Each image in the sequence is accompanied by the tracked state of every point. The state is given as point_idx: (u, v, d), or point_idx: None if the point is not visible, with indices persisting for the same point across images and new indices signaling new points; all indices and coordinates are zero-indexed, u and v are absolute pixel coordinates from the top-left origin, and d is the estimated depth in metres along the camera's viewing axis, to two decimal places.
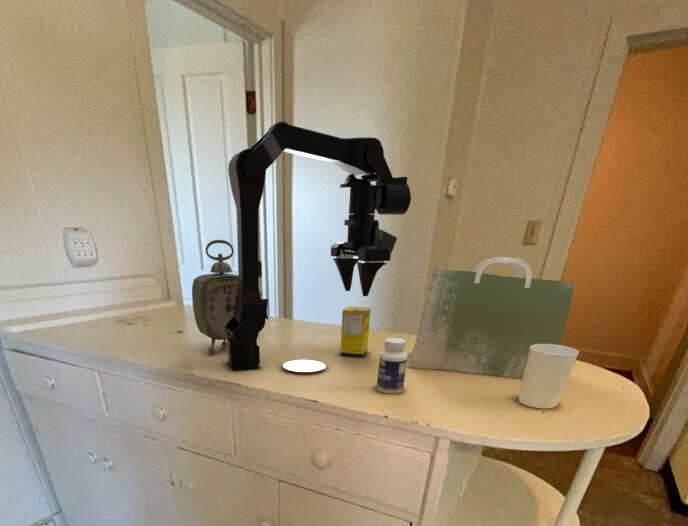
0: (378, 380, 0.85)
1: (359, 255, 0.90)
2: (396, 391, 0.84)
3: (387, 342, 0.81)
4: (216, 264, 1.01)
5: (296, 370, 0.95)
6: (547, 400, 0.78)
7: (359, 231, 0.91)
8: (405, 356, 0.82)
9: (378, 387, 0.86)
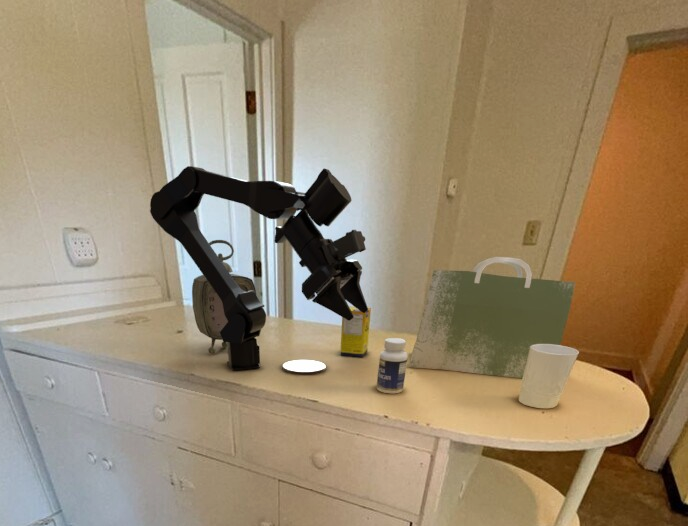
0: (378, 380, 0.85)
1: None
2: (396, 391, 0.84)
3: (387, 342, 0.81)
4: None
5: (296, 370, 0.95)
6: (547, 400, 0.78)
7: (310, 266, 0.80)
8: (405, 356, 0.82)
9: (378, 387, 0.86)
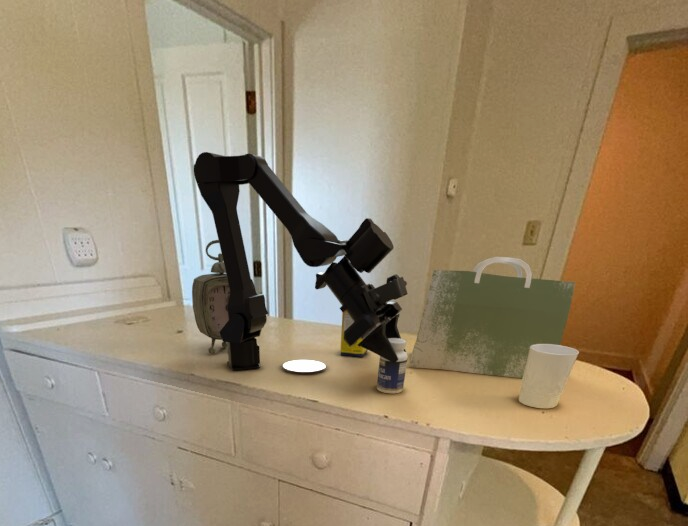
0: (378, 380, 0.85)
1: None
2: (396, 391, 0.84)
3: None
4: (216, 264, 1.01)
5: (296, 370, 0.95)
6: (547, 400, 0.78)
7: (351, 312, 0.80)
8: (405, 356, 0.82)
9: (378, 387, 0.86)
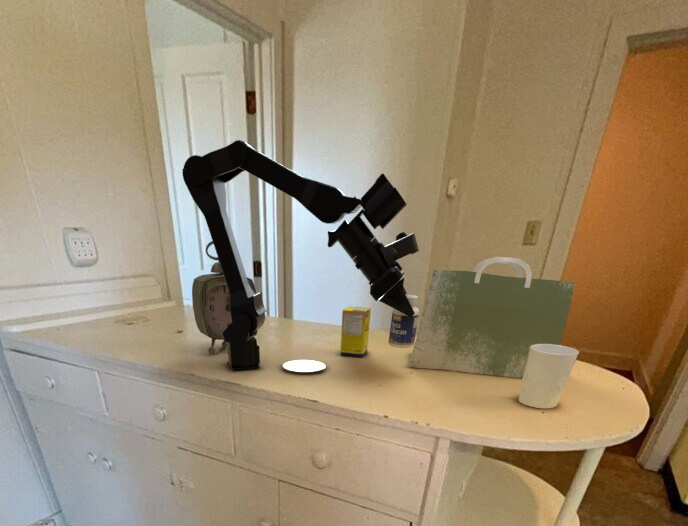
0: (392, 336, 0.89)
1: None
2: (410, 345, 0.89)
3: None
4: (216, 264, 1.01)
5: (296, 370, 0.95)
6: (547, 400, 0.78)
7: (367, 268, 0.82)
8: (418, 310, 0.86)
9: (392, 343, 0.89)
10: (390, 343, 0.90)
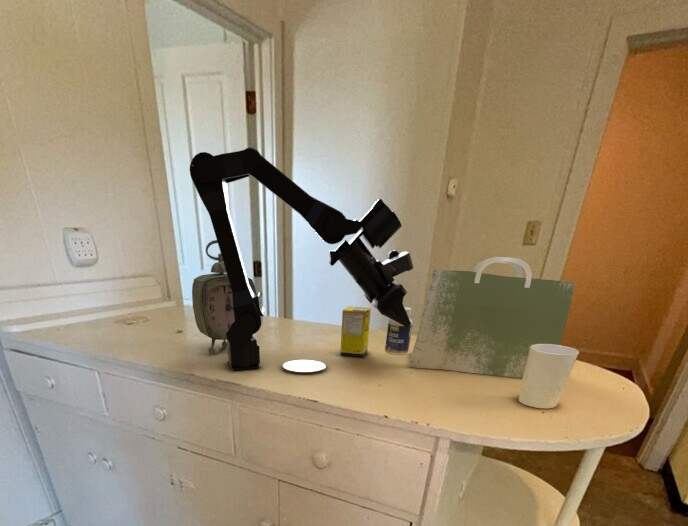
0: (390, 345, 0.96)
1: (377, 309, 0.88)
2: (406, 352, 0.97)
3: None
4: (216, 264, 1.01)
5: (296, 370, 0.95)
6: (547, 400, 0.78)
7: (368, 285, 0.89)
8: (412, 321, 0.95)
9: (390, 351, 0.97)
10: (388, 351, 0.98)
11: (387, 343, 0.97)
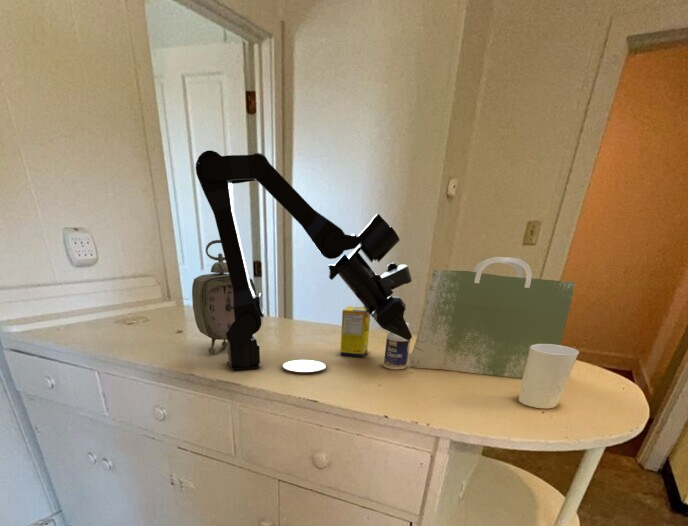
0: (388, 359, 0.98)
1: None
2: (404, 366, 0.99)
3: None
4: (216, 264, 1.01)
5: (296, 370, 0.95)
6: (547, 400, 0.78)
7: (367, 298, 0.90)
8: None
9: (389, 365, 0.99)
10: (386, 365, 0.99)
11: (386, 357, 0.99)
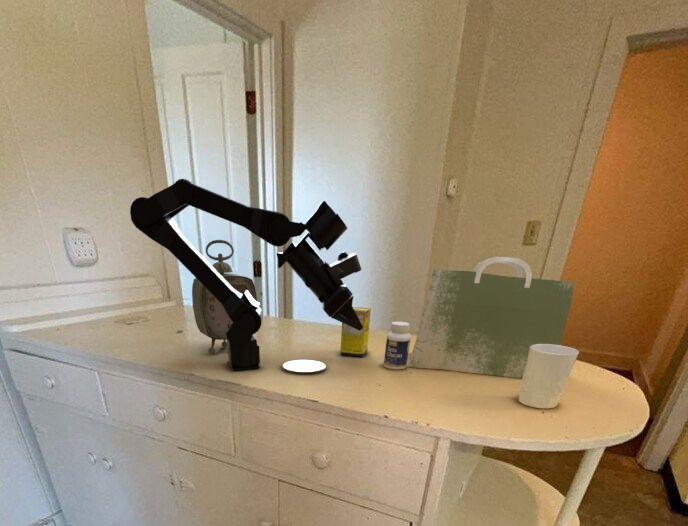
0: (388, 359, 0.98)
1: None
2: (404, 366, 0.99)
3: (397, 325, 0.94)
4: (216, 264, 1.01)
5: (296, 370, 0.95)
6: (547, 400, 0.78)
7: (316, 287, 0.89)
8: (410, 336, 0.97)
9: (389, 365, 0.99)
10: (386, 365, 0.99)
11: (386, 357, 0.99)
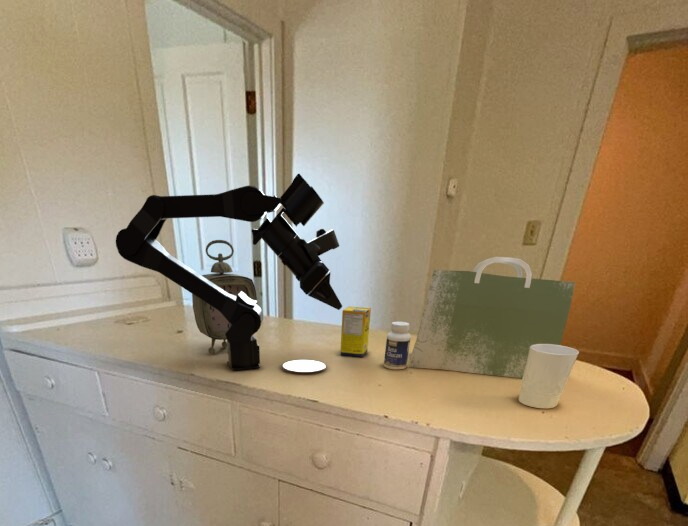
0: (388, 359, 0.98)
1: None
2: (404, 366, 0.99)
3: (397, 325, 0.94)
4: (216, 264, 1.01)
5: (296, 370, 0.95)
6: (547, 400, 0.78)
7: (293, 264, 0.86)
8: (410, 336, 0.97)
9: (389, 365, 0.99)
10: (386, 365, 0.99)
11: (386, 357, 0.99)
